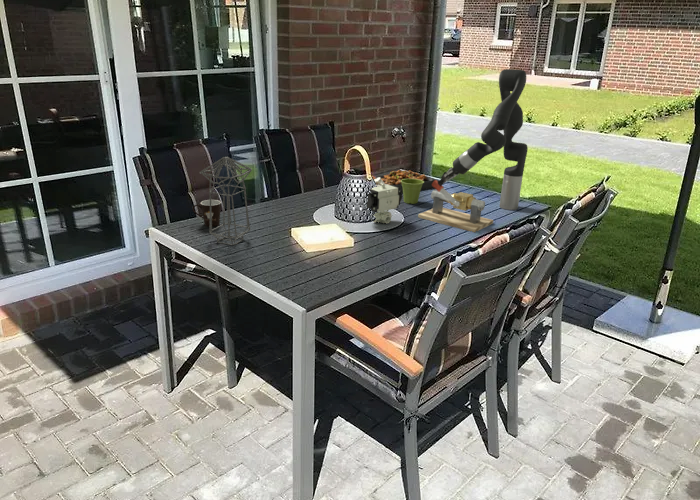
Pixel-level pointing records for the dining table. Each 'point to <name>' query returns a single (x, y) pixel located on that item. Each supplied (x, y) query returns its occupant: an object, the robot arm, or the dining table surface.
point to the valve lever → (445, 193)
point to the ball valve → (384, 201)
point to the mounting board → (455, 219)
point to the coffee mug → (206, 212)
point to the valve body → (465, 203)
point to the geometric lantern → (221, 162)
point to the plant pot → (411, 190)
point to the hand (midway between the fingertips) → (439, 183)
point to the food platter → (397, 176)
